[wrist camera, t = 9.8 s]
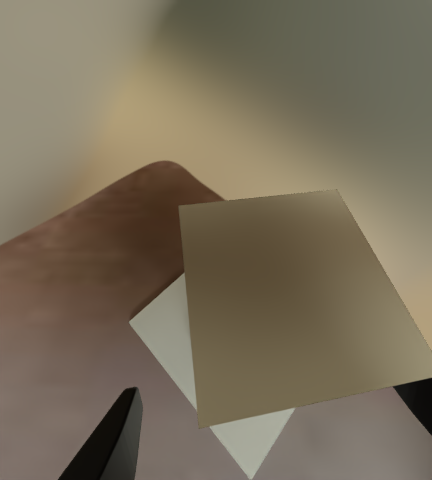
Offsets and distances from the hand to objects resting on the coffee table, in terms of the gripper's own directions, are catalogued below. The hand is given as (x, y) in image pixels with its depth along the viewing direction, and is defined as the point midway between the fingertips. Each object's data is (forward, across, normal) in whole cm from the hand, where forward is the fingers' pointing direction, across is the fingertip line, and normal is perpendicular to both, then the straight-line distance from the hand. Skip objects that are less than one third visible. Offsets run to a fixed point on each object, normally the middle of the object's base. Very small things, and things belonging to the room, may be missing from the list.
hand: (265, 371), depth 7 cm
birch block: (+7, 0, +4) cm, 8 cm away
